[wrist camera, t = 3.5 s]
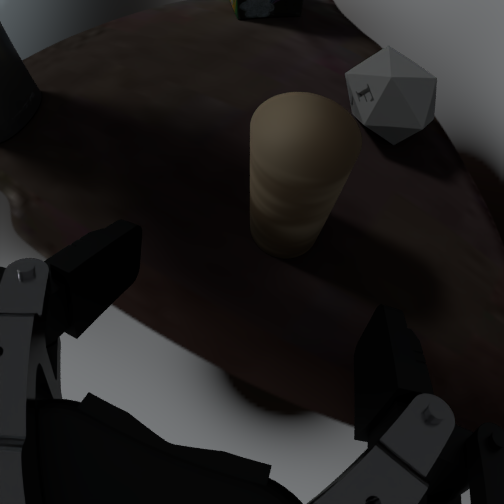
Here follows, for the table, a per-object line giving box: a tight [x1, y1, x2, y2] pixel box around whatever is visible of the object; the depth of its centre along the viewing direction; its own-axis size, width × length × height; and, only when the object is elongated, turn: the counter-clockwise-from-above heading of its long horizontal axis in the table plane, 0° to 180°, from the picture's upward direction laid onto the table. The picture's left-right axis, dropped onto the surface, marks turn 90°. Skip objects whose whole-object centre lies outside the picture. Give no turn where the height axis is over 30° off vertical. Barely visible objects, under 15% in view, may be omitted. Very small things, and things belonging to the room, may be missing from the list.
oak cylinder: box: [250, 92, 362, 259], centre depth 19 cm, size 5×5×11 cm
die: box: [345, 46, 437, 145], centre depth 24 cm, size 8×9×10 cm
